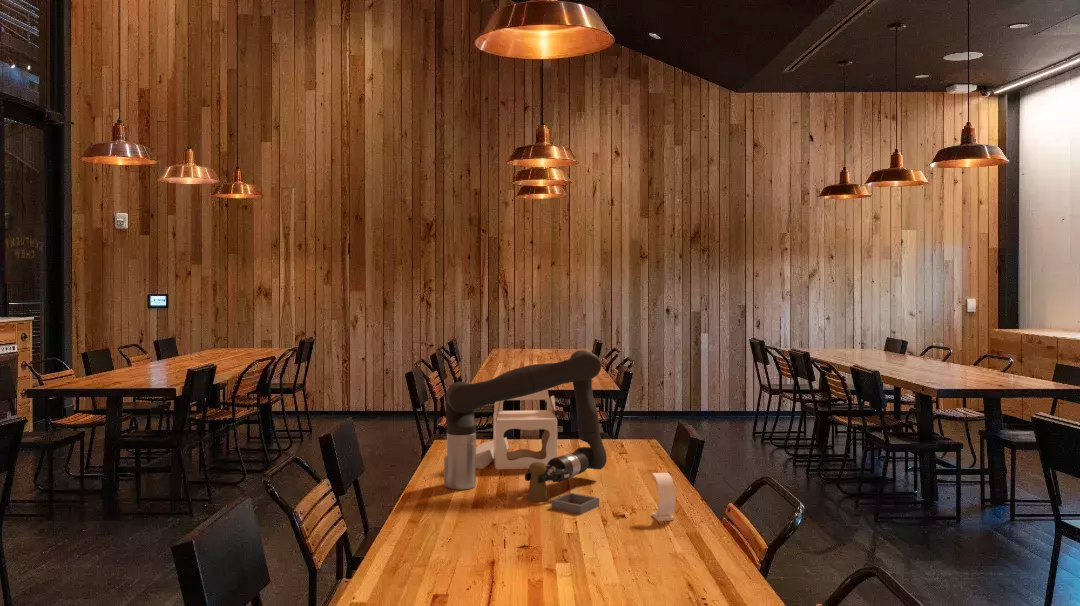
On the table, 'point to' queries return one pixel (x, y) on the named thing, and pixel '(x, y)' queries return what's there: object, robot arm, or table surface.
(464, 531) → the table surface
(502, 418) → the gable box
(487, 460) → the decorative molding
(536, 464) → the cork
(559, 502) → the square frame
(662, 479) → the white curved bracket
